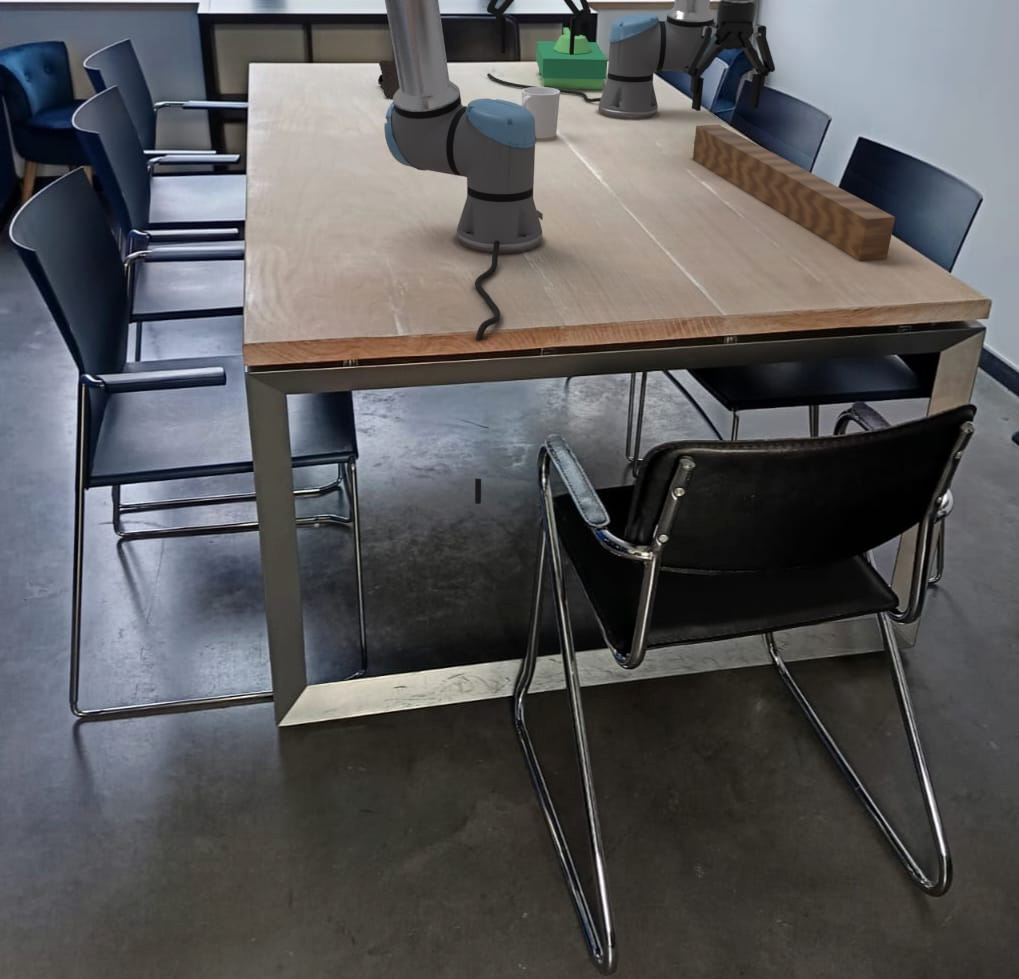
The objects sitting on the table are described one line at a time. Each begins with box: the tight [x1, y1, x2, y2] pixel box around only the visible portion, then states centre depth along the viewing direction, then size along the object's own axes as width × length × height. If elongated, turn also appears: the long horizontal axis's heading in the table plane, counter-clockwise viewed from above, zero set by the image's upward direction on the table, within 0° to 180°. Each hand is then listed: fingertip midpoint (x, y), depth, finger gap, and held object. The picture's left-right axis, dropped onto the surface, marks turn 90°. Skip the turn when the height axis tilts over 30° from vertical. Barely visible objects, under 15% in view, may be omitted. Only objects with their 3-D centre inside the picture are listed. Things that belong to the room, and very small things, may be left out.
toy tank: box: [535, 27, 608, 90], centre depth 315 cm, size 18×12×35 cm
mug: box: [521, 86, 561, 141], centre depth 257 cm, size 11×9×10 cm
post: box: [692, 124, 896, 261], centre depth 217 cm, size 68×6×7 cm, turn 17°
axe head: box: [377, 59, 400, 98], centre depth 299 cm, size 18×8×15 cm
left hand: (537, 53), depth 217 cm, fingers open, 13 cm apart
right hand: (724, 108), depth 234 cm, fingers open, 13 cm apart
